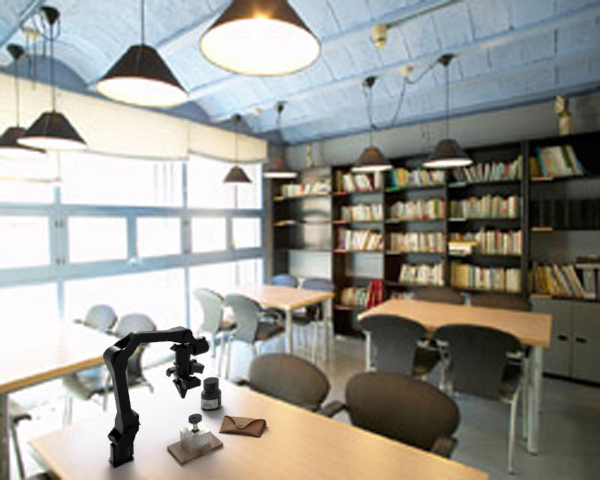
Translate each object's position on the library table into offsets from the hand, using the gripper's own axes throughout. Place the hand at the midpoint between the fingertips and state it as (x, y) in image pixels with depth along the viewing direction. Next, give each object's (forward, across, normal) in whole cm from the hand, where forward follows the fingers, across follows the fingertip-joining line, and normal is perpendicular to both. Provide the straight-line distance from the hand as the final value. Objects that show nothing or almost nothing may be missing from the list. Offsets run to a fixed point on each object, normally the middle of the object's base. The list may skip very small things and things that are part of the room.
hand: (183, 398), depth 142 cm
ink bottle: (+13, +9, -18) cm, 24 cm away
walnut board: (+13, -14, +2) cm, 19 cm away
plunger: (+8, -14, +2) cm, 16 cm away
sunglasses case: (+14, -15, -17) cm, 27 cm away
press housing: (+12, -14, +2) cm, 18 cm away
